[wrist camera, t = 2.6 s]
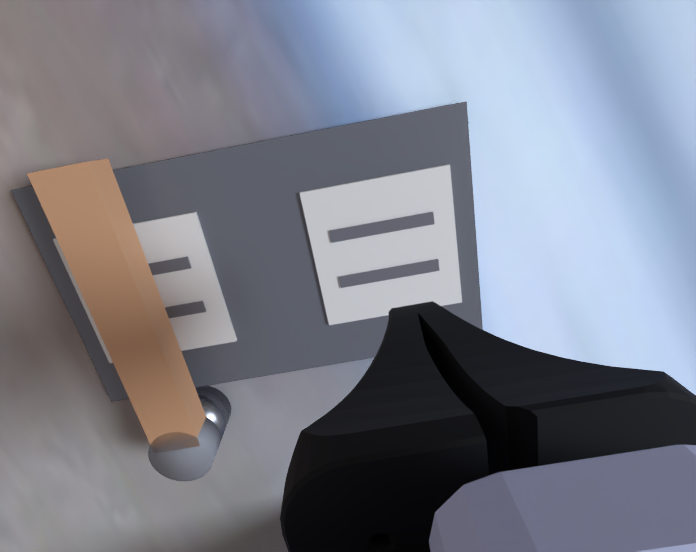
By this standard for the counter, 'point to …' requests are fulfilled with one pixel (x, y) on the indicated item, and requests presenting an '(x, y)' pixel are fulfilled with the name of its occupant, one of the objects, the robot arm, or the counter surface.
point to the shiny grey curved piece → (215, 406)
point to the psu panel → (294, 244)
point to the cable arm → (128, 313)
